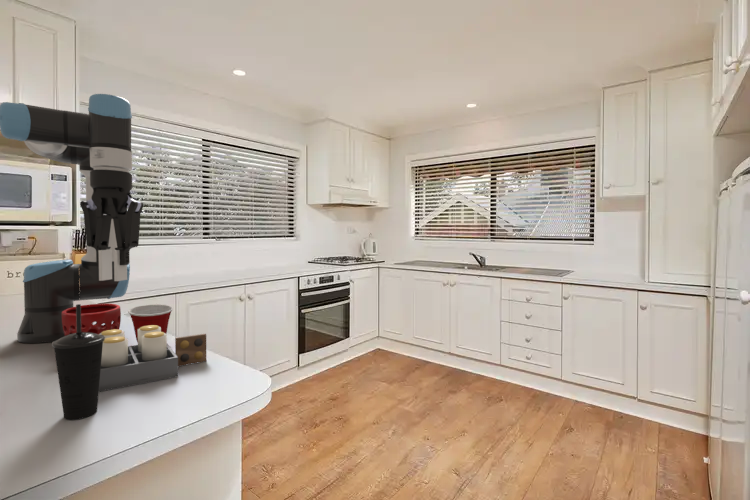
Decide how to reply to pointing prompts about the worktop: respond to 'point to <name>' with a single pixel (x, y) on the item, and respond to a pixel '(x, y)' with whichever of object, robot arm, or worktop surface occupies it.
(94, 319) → the plant pot
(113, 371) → the button board
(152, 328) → the button
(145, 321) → the plastic cup
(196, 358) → the placard
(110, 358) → the button
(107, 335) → the button
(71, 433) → the worktop surface
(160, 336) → the button
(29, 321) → the robot arm
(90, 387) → the drinking cup
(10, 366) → the worktop surface
